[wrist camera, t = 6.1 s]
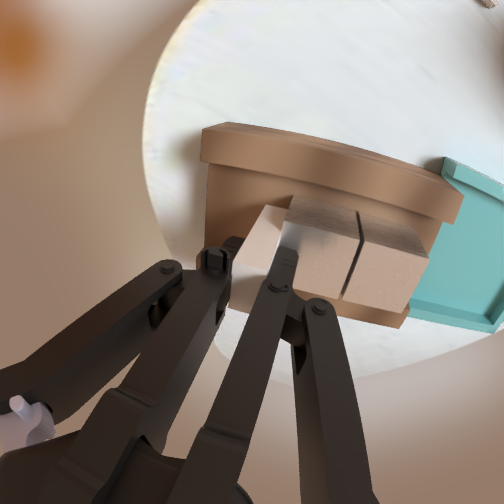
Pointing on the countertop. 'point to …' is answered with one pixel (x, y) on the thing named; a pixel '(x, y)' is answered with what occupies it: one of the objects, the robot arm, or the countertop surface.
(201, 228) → the countertop surface
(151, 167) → the countertop surface
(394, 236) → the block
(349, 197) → the groove board
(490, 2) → the pliers
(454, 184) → the tray
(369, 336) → the countertop surface
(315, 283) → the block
